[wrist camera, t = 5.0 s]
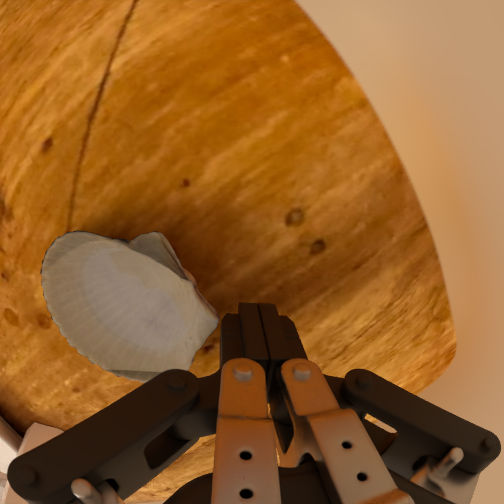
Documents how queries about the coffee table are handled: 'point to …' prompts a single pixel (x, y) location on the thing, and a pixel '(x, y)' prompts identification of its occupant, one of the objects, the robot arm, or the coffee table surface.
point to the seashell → (126, 303)
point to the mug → (32, 439)
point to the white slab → (8, 444)
